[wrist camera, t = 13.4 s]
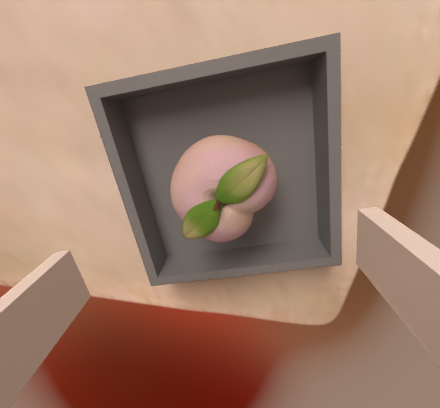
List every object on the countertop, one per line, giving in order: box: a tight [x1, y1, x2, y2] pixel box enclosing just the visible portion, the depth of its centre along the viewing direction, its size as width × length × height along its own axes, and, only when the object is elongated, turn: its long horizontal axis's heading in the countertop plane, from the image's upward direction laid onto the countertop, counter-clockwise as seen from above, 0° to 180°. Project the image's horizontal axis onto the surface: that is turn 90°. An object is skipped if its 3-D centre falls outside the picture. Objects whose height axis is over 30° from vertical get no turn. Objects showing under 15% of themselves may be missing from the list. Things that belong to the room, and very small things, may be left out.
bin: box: [85, 33, 342, 286], centre depth 25 cm, size 20×20×5 cm
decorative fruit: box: [170, 135, 277, 242], centre depth 21 cm, size 9×8×10 cm
